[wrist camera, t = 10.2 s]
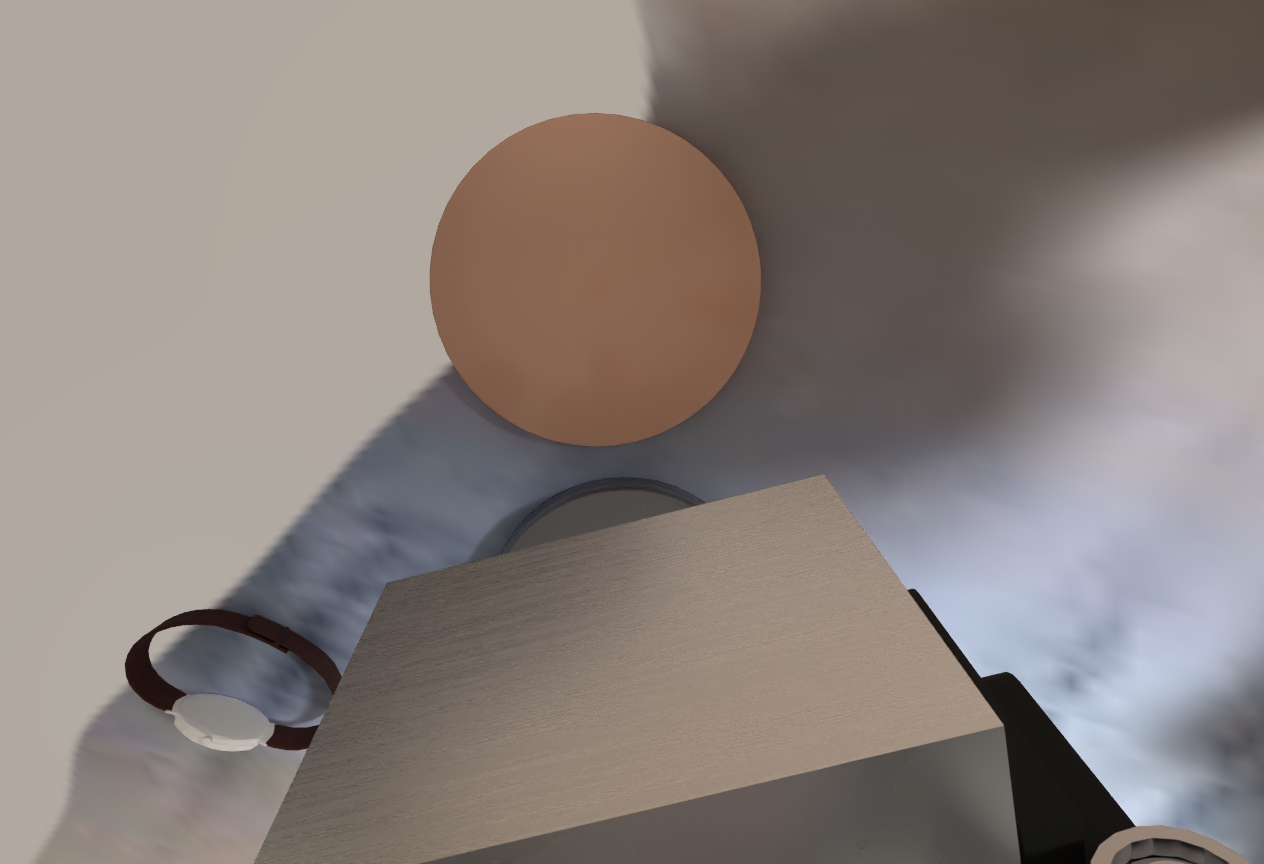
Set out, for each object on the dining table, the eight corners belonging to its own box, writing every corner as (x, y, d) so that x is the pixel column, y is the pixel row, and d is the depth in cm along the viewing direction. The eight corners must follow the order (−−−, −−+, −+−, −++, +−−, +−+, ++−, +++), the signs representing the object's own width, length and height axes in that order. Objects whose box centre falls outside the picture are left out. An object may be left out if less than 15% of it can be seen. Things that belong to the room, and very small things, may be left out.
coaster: (561, 38, 26) (561, 34, 25) (821, 255, 28) (828, 258, 27) (370, 318, 28) (364, 322, 27) (626, 494, 31) (627, 503, 30)
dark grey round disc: (597, 425, 30) (602, 525, 22) (802, 571, 32) (876, 710, 24) (441, 623, 32) (394, 780, 24) (644, 746, 34) (664, 927, 26)
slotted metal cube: (823, 473, 11) (1018, 744, 6) (889, 820, 13) (1074, 1240, 8) (386, 583, 11) (221, 931, 6) (516, 907, 13) (469, 1369, 8)
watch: (138, 671, 32) (85, 733, 29) (175, 572, 31) (123, 624, 27) (330, 737, 33) (301, 803, 30) (371, 645, 32) (346, 703, 29)
